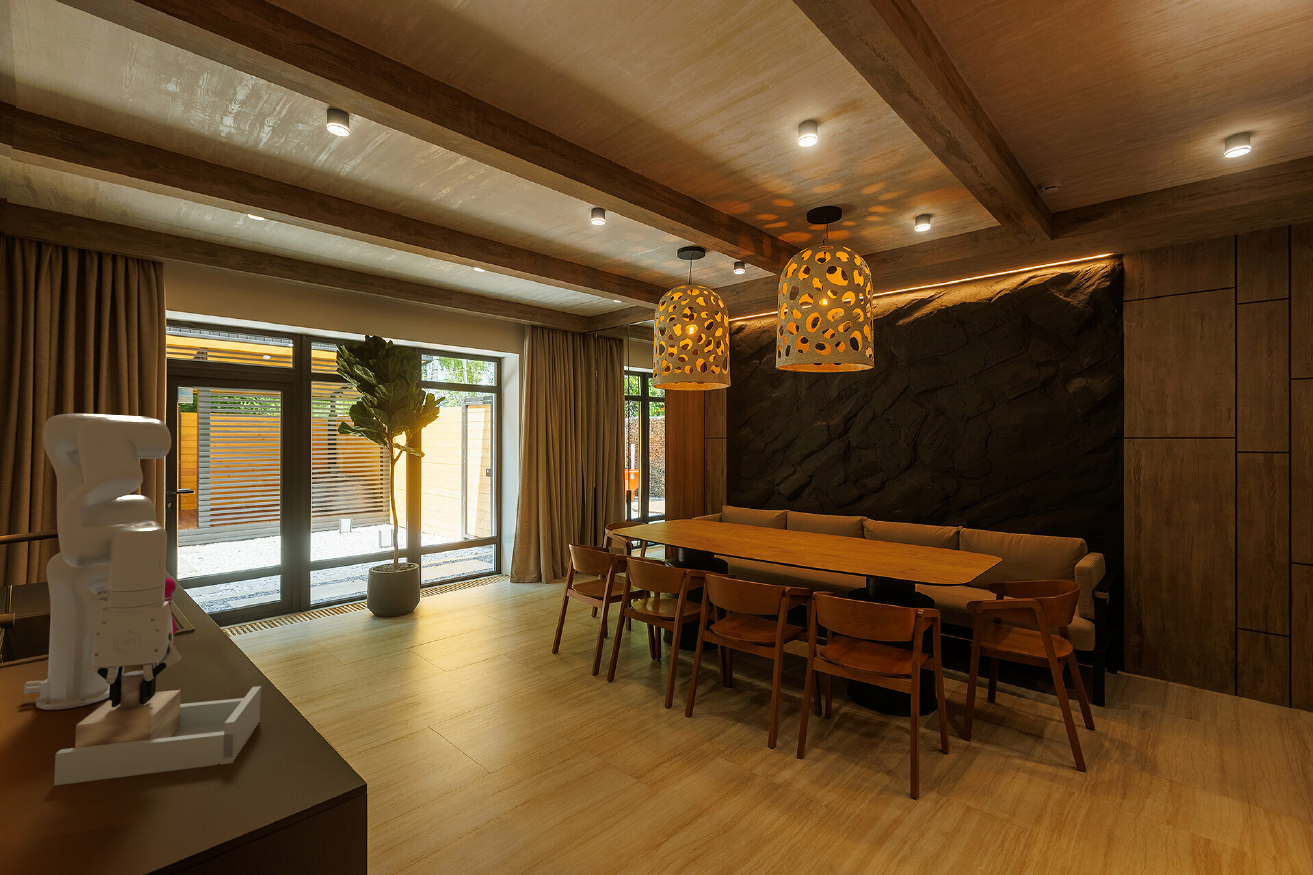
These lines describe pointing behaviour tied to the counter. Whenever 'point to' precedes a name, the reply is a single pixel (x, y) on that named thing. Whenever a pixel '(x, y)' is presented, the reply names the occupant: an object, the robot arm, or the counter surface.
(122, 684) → the wooden block with knob
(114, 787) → the counter surface
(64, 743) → the counter surface
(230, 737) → the bay
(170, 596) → the pepper mill
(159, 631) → the robot arm
